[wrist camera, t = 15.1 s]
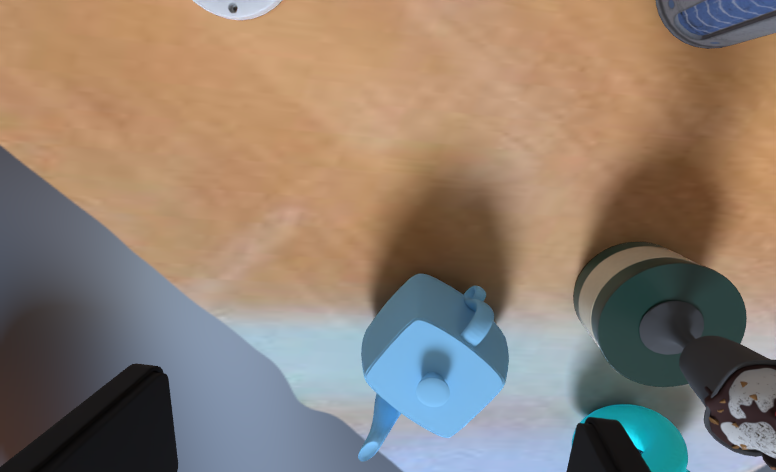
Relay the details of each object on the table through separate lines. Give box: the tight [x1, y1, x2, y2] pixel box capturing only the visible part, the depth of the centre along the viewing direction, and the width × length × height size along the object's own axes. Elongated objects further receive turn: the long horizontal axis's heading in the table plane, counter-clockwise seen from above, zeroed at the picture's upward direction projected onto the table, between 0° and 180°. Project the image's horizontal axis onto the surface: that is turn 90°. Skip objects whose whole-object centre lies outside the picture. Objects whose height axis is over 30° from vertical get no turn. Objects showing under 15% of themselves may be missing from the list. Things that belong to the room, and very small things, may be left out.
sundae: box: [639, 301, 776, 470], centre depth 26 cm, size 7×7×15 cm
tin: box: [573, 242, 747, 387], centre depth 36 cm, size 11×11×7 cm
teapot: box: [358, 274, 509, 461], centre depth 38 cm, size 12×18×12 cm
